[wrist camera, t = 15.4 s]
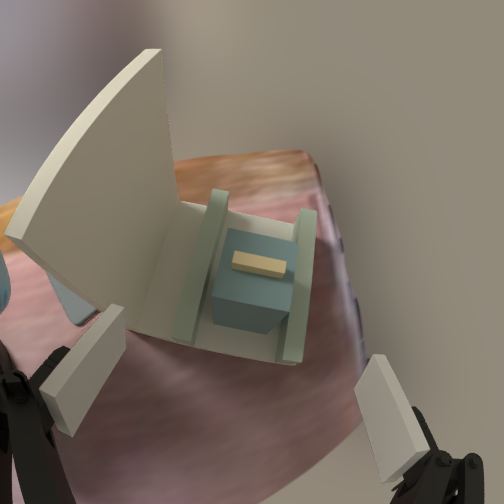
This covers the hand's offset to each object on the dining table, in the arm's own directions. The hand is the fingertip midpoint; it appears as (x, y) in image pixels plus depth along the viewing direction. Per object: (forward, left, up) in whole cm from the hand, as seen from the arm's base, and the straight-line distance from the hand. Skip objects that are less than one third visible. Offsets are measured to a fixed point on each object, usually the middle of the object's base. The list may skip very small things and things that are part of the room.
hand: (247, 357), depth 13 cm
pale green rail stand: (-3, +11, -19) cm, 22 cm away
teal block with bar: (0, +8, -17) cm, 19 cm away
